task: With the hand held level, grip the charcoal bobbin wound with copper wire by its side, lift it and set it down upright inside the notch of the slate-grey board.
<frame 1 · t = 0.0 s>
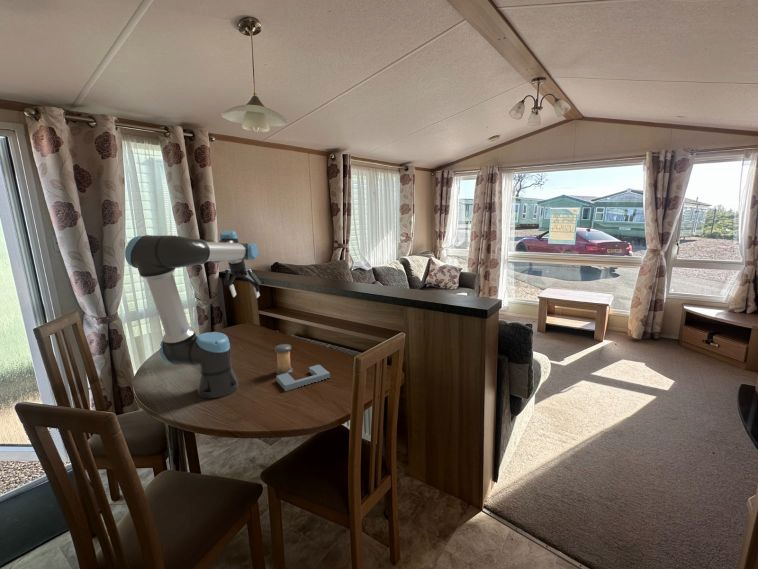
hand: (246, 296, 191), 28 cm above the table, tool tilted 20°, fingers open, 13 cm apart
bobbin: (284, 372, 162), on the table
notched board: (303, 379, 154), on the table
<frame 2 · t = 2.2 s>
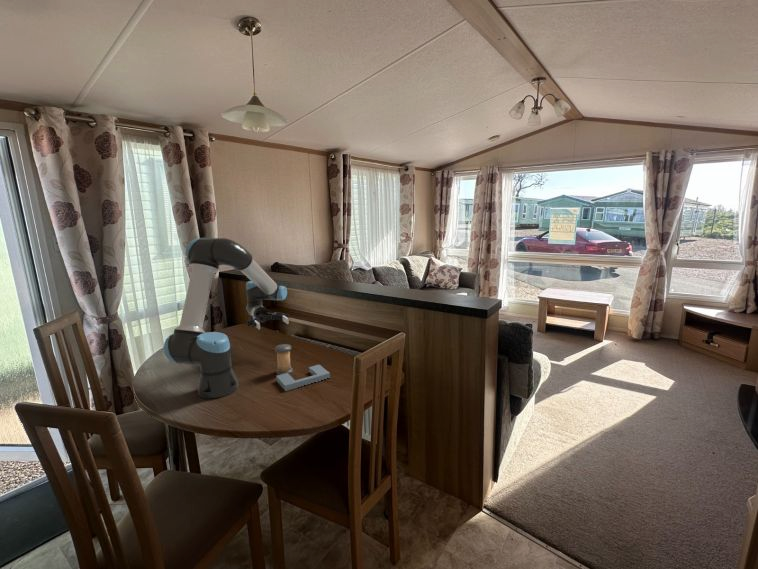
hand: (273, 323, 167), 20 cm above the table, tool horizontal, fingers open, 13 cm apart
nothing on the table moved.
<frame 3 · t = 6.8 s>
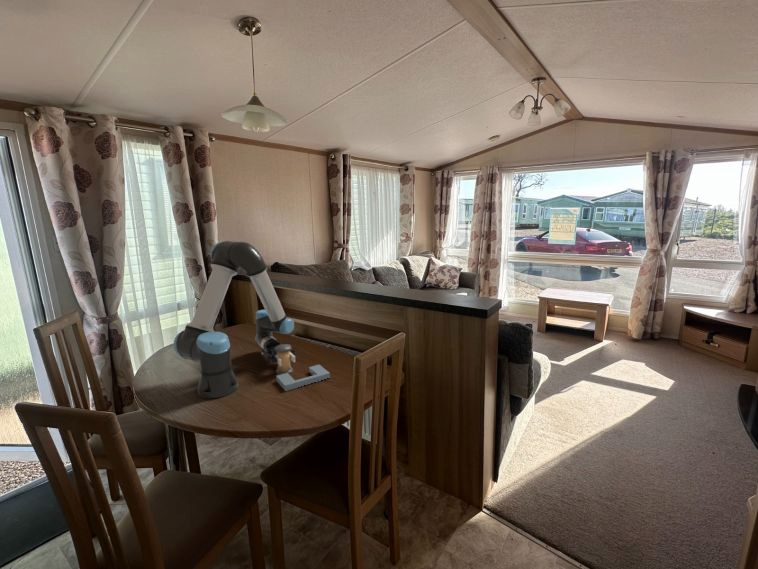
hand: (287, 361, 156), 7 cm above the table, tool horizontal, fingers closed on bobbin, 5 cm apart
bobbin: (284, 371, 162), on the table, touching gripper
when the fingers open (8 cm above the table, at t = 12.4 s): bobbin drops 1 cm, on the table.
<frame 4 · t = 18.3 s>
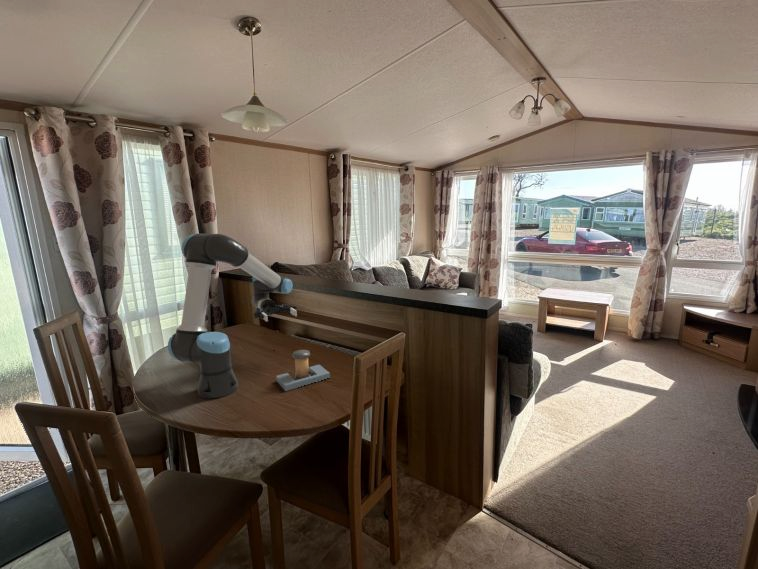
hand: (281, 315, 162), 25 cm above the table, tool horizontal, fingers open, 13 cm apart
bobbin: (302, 378, 155), on the table
at the end: bobbin 0.1 cm from the target spot on the notched board, point 0.0 cm above the notched board's base; bobbin tilted 0°; the gripper is holding nothing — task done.
